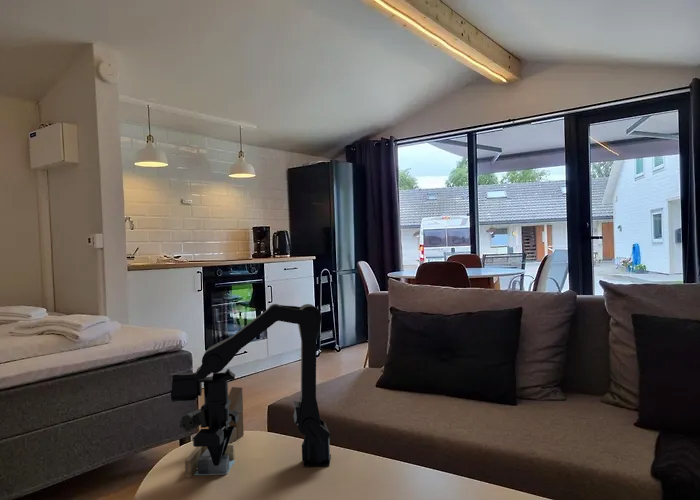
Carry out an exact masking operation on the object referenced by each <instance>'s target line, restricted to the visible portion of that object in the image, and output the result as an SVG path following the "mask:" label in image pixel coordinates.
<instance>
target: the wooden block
mask: <svg viewBox="0 0 700 500" xmlns="http://www.w3.org/2000/svg"><path fill="white" fill-rule="evenodd" d="M228 400H231V404H230V405H229V410H236V411H237V412H238V413H239V421H238V422H237V423H234V422H233V420H231V421H230V422H229V423H228V424H229V426H235V428H234V430H233V433H232V436H231V439H230V441H229V444H233V443H234V442H235V441H237V440H238V439H240V438H242V437H243V436H244V435H245V434H244V397H243V387H241V386H240V387H239V386H238V387H236V386H231V388H230V390H229V392H228Z"/></svg>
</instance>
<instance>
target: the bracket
mask: <svg viewBox="0 0 700 500" xmlns="http://www.w3.org/2000/svg"><path fill="white" fill-rule="evenodd" d="M197 470H198V474H223V475H228V473H229V472H230V470H229V455H222V456H221V460H220V463H219V465H218V466H214V464H213V461H212V458H211V456H210V453H209V450H208V449H206V450H205V452H204V453H203V454H202V455H201V456H200V458H199V459H198V468H197ZM228 471H229V472H228ZM227 472H228V473H227Z"/></svg>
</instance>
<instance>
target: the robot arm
mask: <svg viewBox="0 0 700 500" xmlns="http://www.w3.org/2000/svg"><path fill="white" fill-rule="evenodd" d="M322 318H323V317H322V313H321V311H320V310H319V309H318V308H317V307H316V306H315V305H313V304H309V303H306V304H303V305H301V306H298V305H297V306H296V305H284V304H282V305H281V304H278V303H272V304H271V305H269V306H268V307H267V309H266V310H264V311H263V312H262V313H261V314H259V315H257V316H256V317H255V318H254V319H253V320H251V321H250V322H248V323H247V324H246V325H244V327H242V328H241V329H240V330H237V332H235V334H233V335H232V336H229V337H228V338H226V339H224V340H221V341H219V342H218V343H215V344H214V345H211V346H210V347H208V348H207V350H205V352H204V354H203V356H202V359H201V365H200V366H198V368H197V369H196V371H195V372H188V373H187V372H183V373H181V372H175V373H173V375H172V380H171V389H170V401H171V403H181V402H182V403H183V402H194V401H197V400H198V399H199V397H201V396H202V393H203V398H204V401H203V402H204V403H203V404H202V405H201V407H200V408H199V409H197V410H193V411H192V412H188V413H187V414H183V415H181V419H180V420H179V422H180V424H179V427H180V429H181V428H182V429H183V430H184V432H186V433H187V432H189V431H190V430H192V429H194V428H197V427H200V428H201V429H200V430H198V432H197V433H196V434H195V435H194V436H193V438H192V444H193V447H195V448H197V447H207V448H208V450H209V453H210V456H211V458H212V461H213V464H214V466H218V465H219V463H220V460H221V456H222V455H225V452H226V449H227V447H228V444H229V441H230V439H231V436H232V433H233V430H234V428H235V426H229V424H228V423H229V422H230V421H231V420H233V422H234V423H237V422H238V421H239V413H238V412H237V411H236V410H229V405H230V404H231V400H228V395H229V385H228V384H229V383H228V381H234V380H235V378H236V374H235V373H234V372H232V370H231V369H230V368H227V369H226V370H225V371H223V370H224V369H225V367H227V366H228V364H230V362H231V361H232V360H233V359H234V357H236V356H237V354H238V353H239V352H240V350H242V349H243V348H244V347H246V346H247V345H248V344H249V343H251V342H252V341H254V340H255V339H256V338H257V337H258V336H260V335H261V334H262V333H264V332H265V331H266V330H268V329H269V328H270V327H272V326H273V325H274V324H275V323H277V322H283V323H288V324H289V323H290V324H296V325H297V326H298V330H299V331H298V332H299V335H300V336H299V337H300V341H301V342H300V347H301V348H300V395H299V396H300V397H299V399H298V401H297V400H296V401H295V400H294V401H293V406H294V413H293V421H294V425H297V429H298V432H299V433H301V435H303V436H304V437H303V441H302V443H301V461H302V462H303V467H327V466H328V467H329V466H330V464H331V459H332V454H331V449H330V447H331V446H330V436H331V435H330V434H331V433H330V431H329V429H328V426H327V423H326V422H325V421H324V420H323V419H322V418H321V417H320V416H321V415H320V411H319V406H318V401H317V341H318V337H319V334H320V331H321V330H320V329H321V323H322ZM222 371H223V372H222ZM211 374H212V375H211ZM210 375H211V376H210ZM202 383H203V384H202Z"/></svg>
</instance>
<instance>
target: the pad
mask: <svg viewBox="0 0 700 500" xmlns="http://www.w3.org/2000/svg"><path fill="white" fill-rule="evenodd" d="M235 462H236V460H235V459H234V460H229V471H228V472H227V474H228V473H229V472H230V470H231V469H232V467H233V466H234V464H235ZM206 475H207V476H210V475H211V476H212V475H214V476H215V475H216V476H218V475H224V474H198V469H197V470H196V471H195V472H194V474H193V476H206Z"/></svg>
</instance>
